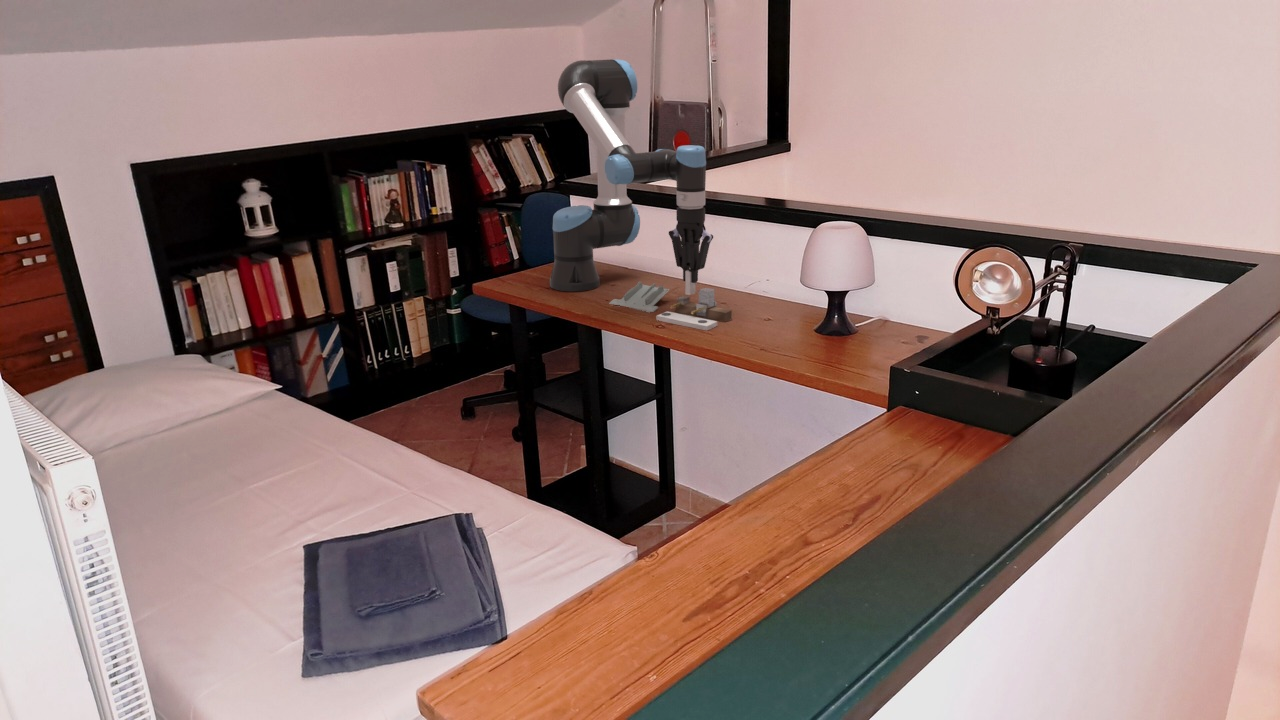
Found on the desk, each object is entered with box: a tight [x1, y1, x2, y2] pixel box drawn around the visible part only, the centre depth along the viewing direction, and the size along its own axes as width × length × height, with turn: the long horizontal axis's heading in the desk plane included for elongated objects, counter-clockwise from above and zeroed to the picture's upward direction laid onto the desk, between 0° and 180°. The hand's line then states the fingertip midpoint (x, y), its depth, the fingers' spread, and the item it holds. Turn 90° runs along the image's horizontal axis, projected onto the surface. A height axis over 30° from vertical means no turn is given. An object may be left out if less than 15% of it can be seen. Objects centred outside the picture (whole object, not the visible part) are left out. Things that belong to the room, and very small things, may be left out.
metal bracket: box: [608, 281, 671, 313], centre depth 258 cm, size 14×6×15 cm
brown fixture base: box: [669, 295, 733, 323], centre depth 244 cm, size 16×7×4 cm, turn 53°
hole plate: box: [655, 311, 718, 331], centre depth 240 cm, size 16×5×1 cm, turn 53°
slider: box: [691, 287, 717, 317], centre depth 242 cm, size 3×9×7 cm, turn 143°
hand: (690, 293), depth 246 cm, fingers closed
